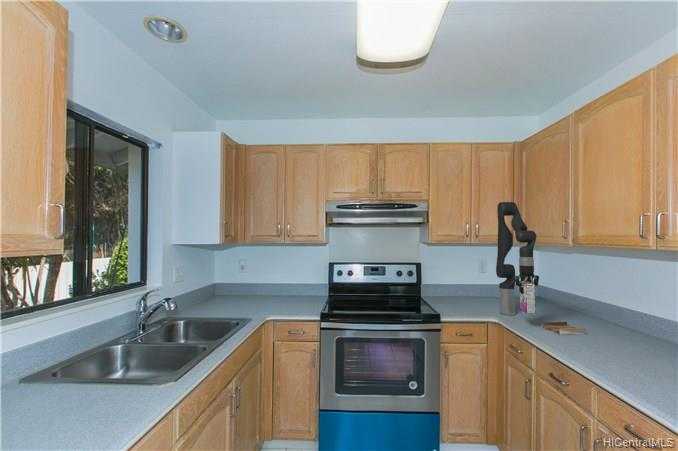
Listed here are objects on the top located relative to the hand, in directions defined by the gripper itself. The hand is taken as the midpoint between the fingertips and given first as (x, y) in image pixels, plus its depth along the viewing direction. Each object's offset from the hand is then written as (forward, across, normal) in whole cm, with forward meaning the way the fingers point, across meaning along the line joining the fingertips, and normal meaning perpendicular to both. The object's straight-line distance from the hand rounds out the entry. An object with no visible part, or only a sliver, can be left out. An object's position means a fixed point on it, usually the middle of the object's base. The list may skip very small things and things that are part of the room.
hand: (527, 293), depth 189 cm
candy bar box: (+11, 0, 0) cm, 11 cm away
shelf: (+19, -13, +11) cm, 26 cm away
